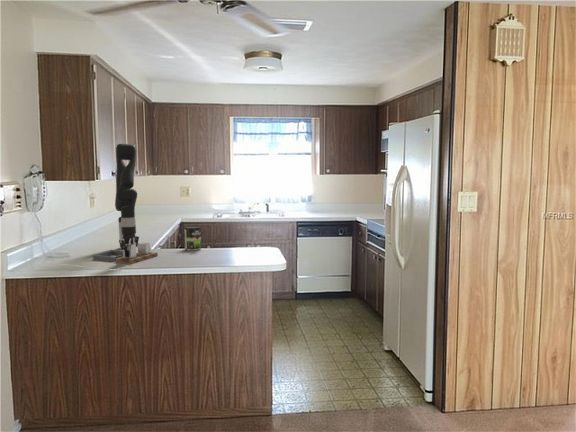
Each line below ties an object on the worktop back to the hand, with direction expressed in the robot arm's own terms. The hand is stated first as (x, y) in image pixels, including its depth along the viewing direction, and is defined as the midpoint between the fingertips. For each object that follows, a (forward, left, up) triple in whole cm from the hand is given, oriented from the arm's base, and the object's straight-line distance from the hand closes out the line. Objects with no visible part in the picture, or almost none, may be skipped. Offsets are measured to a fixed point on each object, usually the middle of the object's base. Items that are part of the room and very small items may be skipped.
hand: (130, 256), depth 260 cm
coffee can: (-47, +10, -4) cm, 48 cm away
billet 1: (0, 0, -1) cm, 1 cm away
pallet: (-6, 0, -4) cm, 7 cm away
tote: (-4, -15, -4) cm, 16 cm away
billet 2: (-12, 0, -3) cm, 12 cm away
